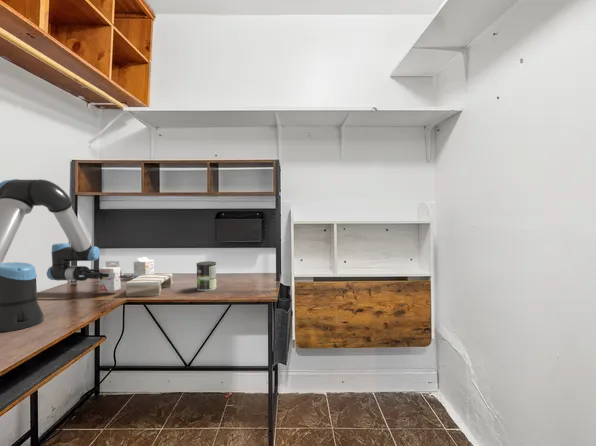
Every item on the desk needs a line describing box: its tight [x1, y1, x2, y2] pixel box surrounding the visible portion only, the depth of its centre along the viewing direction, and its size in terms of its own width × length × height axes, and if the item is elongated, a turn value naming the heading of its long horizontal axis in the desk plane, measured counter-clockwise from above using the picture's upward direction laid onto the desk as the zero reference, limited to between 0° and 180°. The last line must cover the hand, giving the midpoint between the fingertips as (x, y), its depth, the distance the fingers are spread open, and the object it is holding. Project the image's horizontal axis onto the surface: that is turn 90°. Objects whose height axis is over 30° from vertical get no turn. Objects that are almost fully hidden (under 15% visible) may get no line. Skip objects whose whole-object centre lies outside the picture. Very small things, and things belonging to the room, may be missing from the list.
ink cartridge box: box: [98, 260, 122, 292], centre depth 162 cm, size 9×5×15 cm, turn 81°
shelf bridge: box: [125, 273, 174, 297], centre depth 167 cm, size 20×16×7 cm
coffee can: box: [196, 260, 217, 292], centre depth 171 cm, size 10×10×14 cm
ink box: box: [133, 256, 155, 279], centre depth 196 cm, size 9×8×13 cm
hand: (119, 273), depth 162 cm, fingers closed on ink cartridge box, 5 cm apart
